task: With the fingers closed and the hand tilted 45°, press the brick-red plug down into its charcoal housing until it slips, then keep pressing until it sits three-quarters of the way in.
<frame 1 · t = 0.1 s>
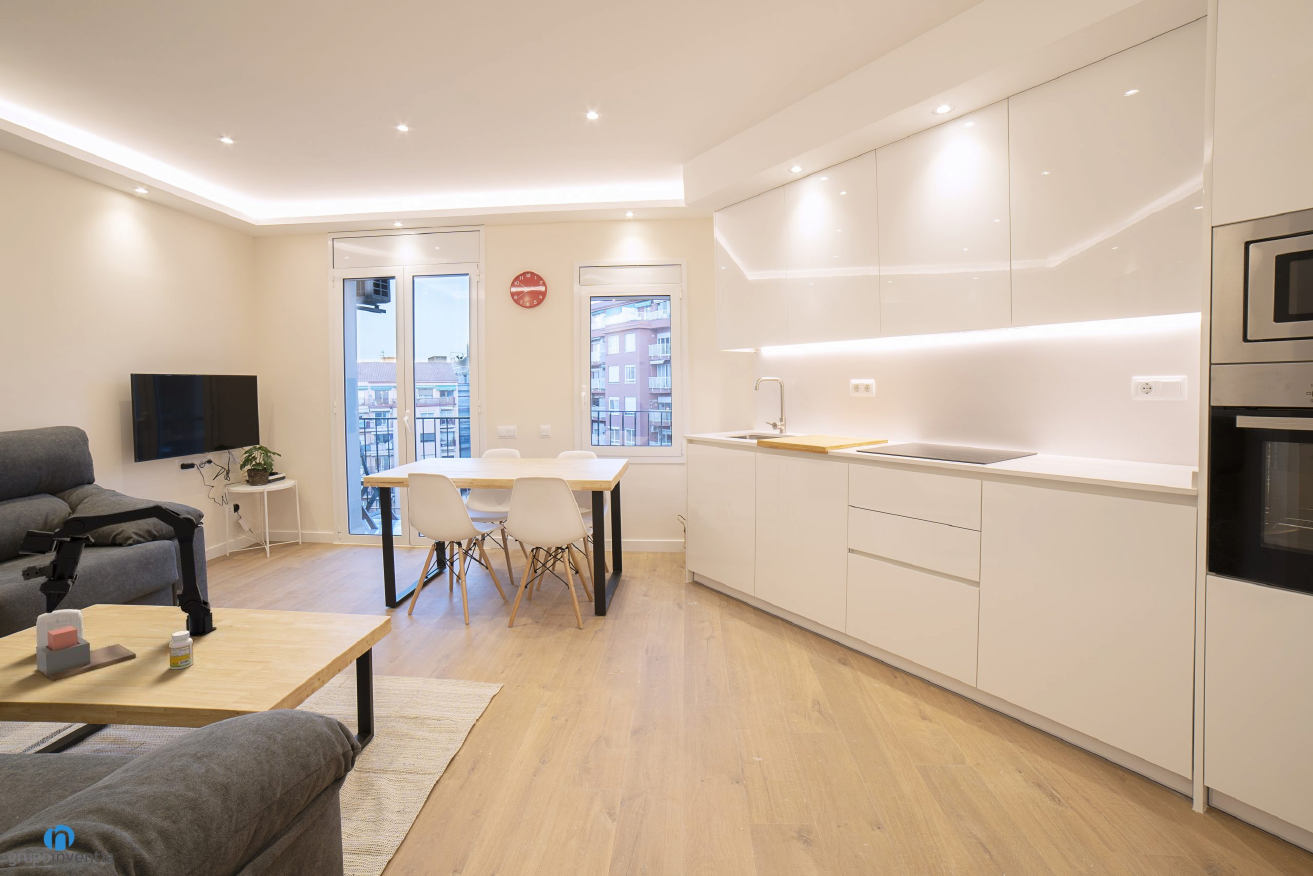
hand: (51, 608, 175), 15 cm above the table, tool pointing down, fingers open, 9 cm apart
photo printer: (60, 650, 183), on the table
plug: (62, 640, 168), point 9 cm above the table, slide at 0.0 cm
supplement bottle: (181, 666, 172), on the table
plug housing: (64, 669, 169), resting on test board
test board: (87, 663, 173), on the table
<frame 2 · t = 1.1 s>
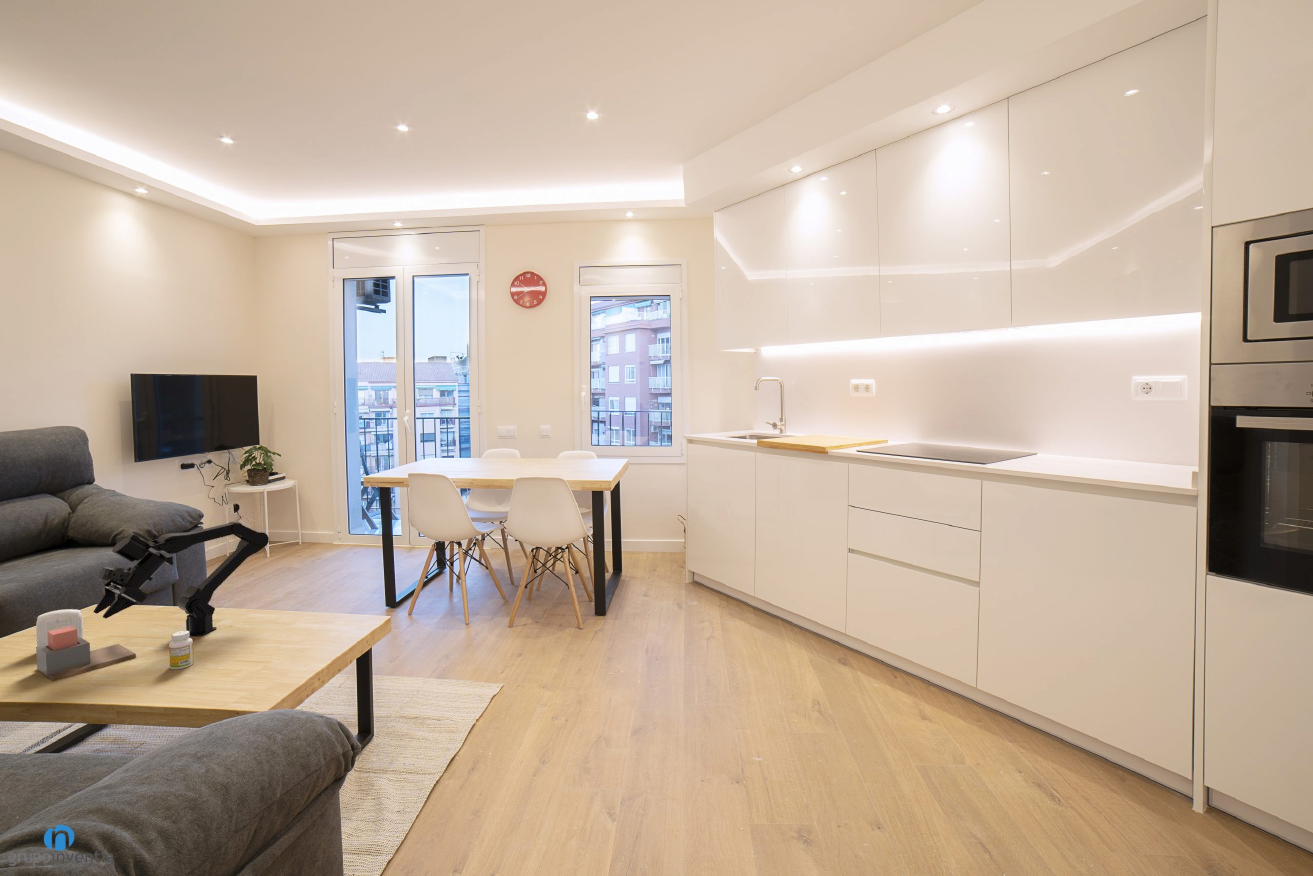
hand: (99, 615, 175), 13 cm above the table, tool tilted 45°, fingers open, 7 cm apart
nothing on the table moved.
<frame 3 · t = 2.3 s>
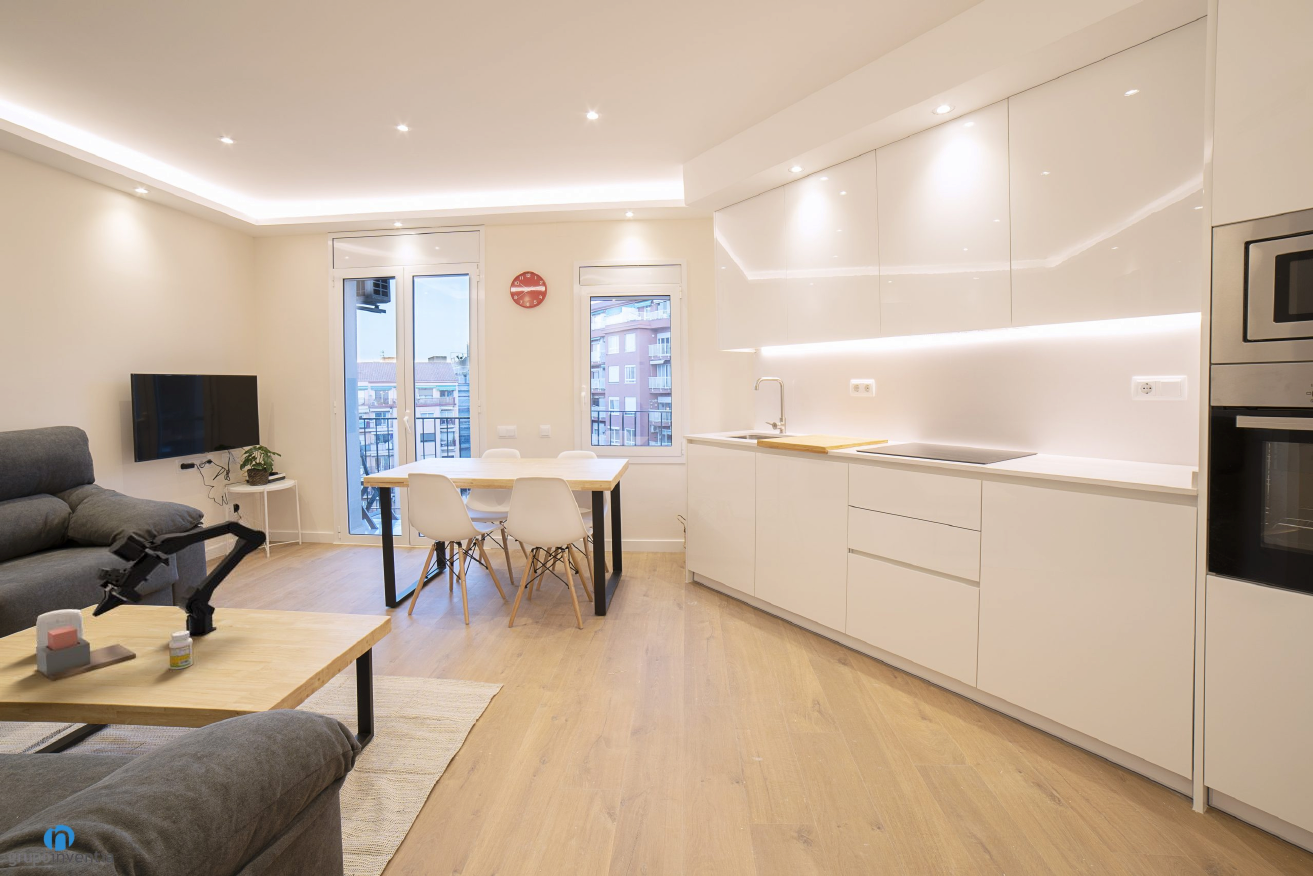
hand: (93, 616, 174), 14 cm above the table, tool tilted 45°, fingers closed
nothing on the table moved.
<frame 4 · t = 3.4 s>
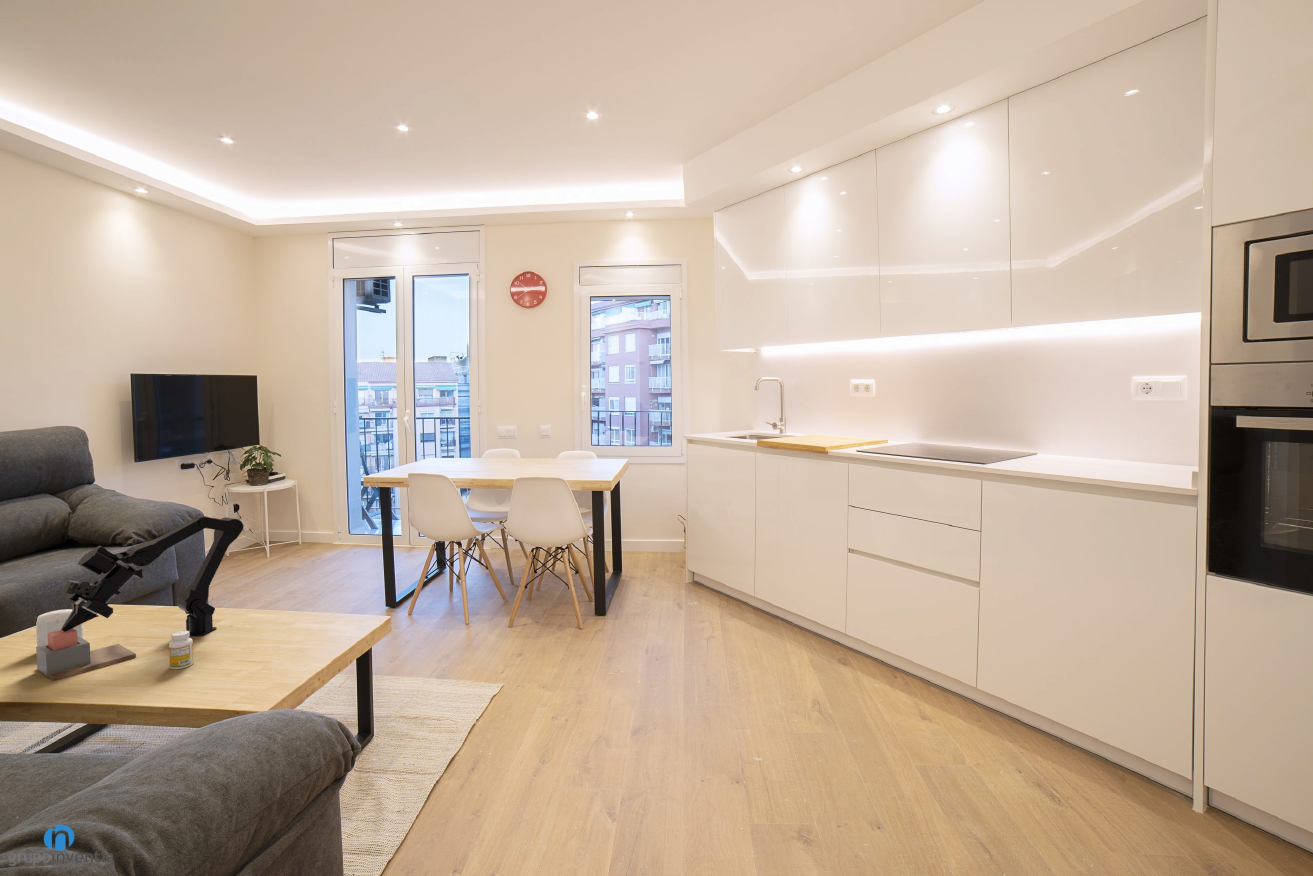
hand: (62, 630, 168), 11 cm above the table, tool tilted 45°, fingers closed, pressing on plug
plug: (62, 642, 168), point 8 cm above the table, slide at 0.5 cm, touching gripper
everything else where it was.
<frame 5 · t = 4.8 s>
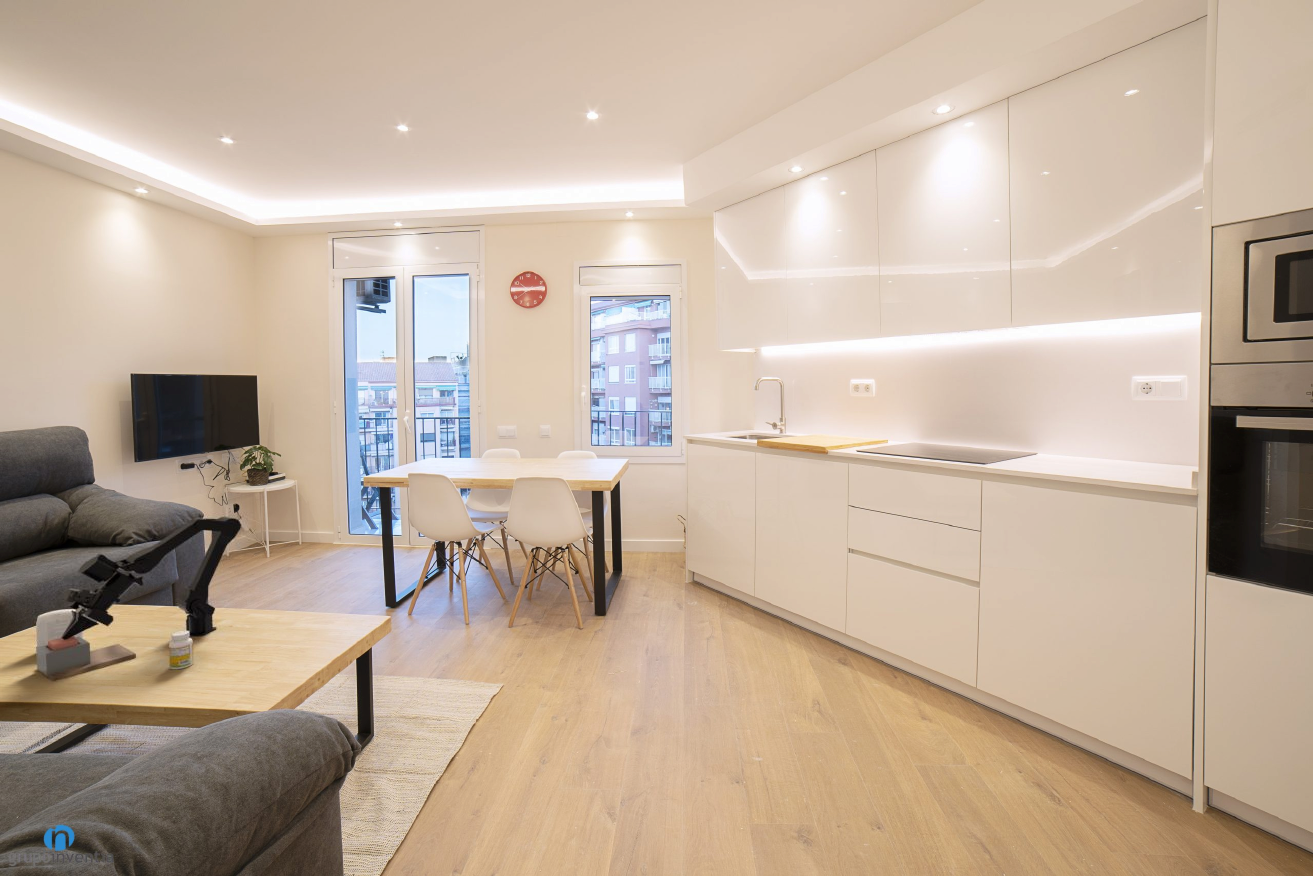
hand: (63, 638, 168), 9 cm above the table, tool tilted 45°, fingers closed, pressing on plug
plug: (63, 650, 169), point 6 cm above the table, slide at 2.8 cm, touching gripper
everything else where it was.
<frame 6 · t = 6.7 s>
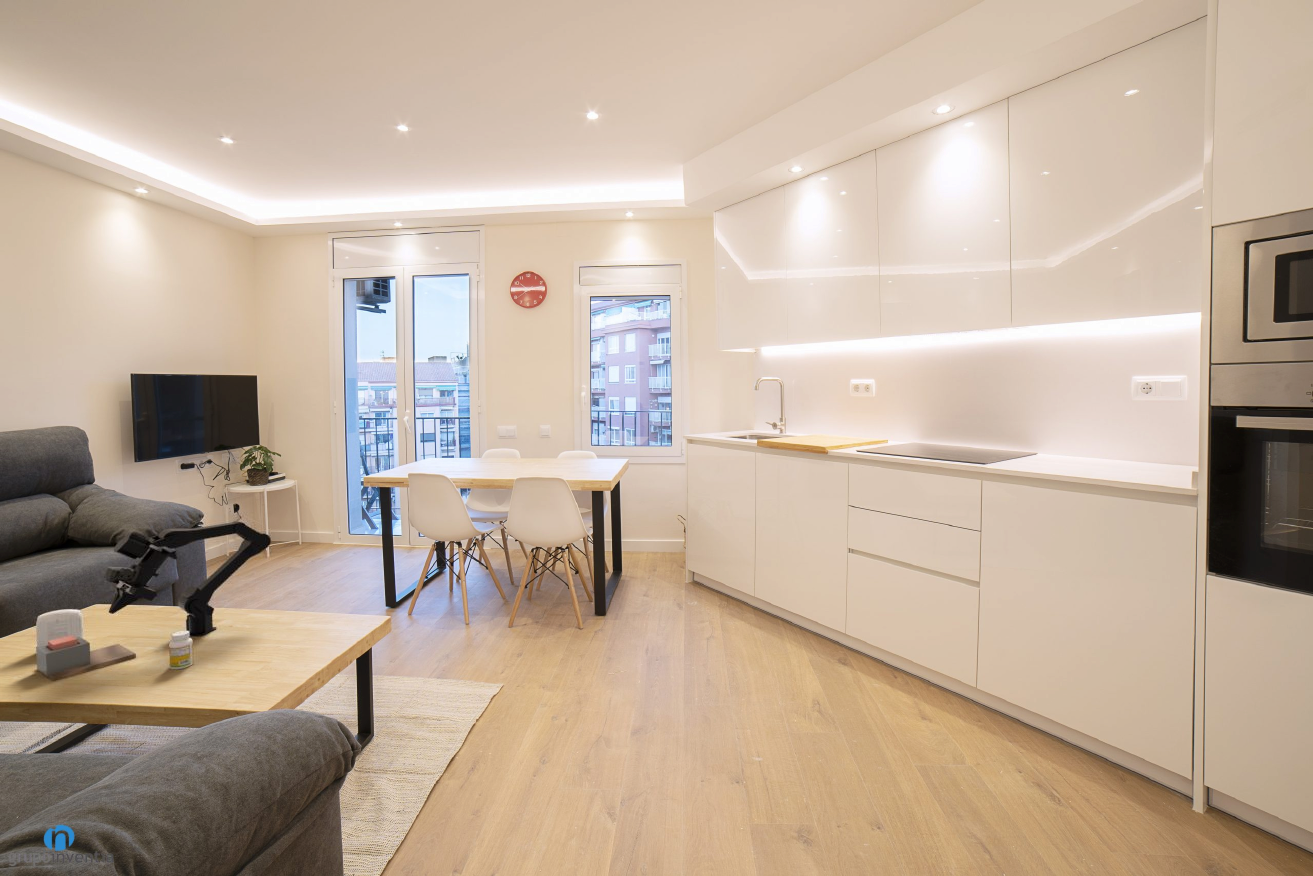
hand: (110, 613, 178), 13 cm above the table, tool tilted 35°, fingers closed
plug: (63, 650, 169), point 6 cm above the table, slide at 2.8 cm
everything else where it was.
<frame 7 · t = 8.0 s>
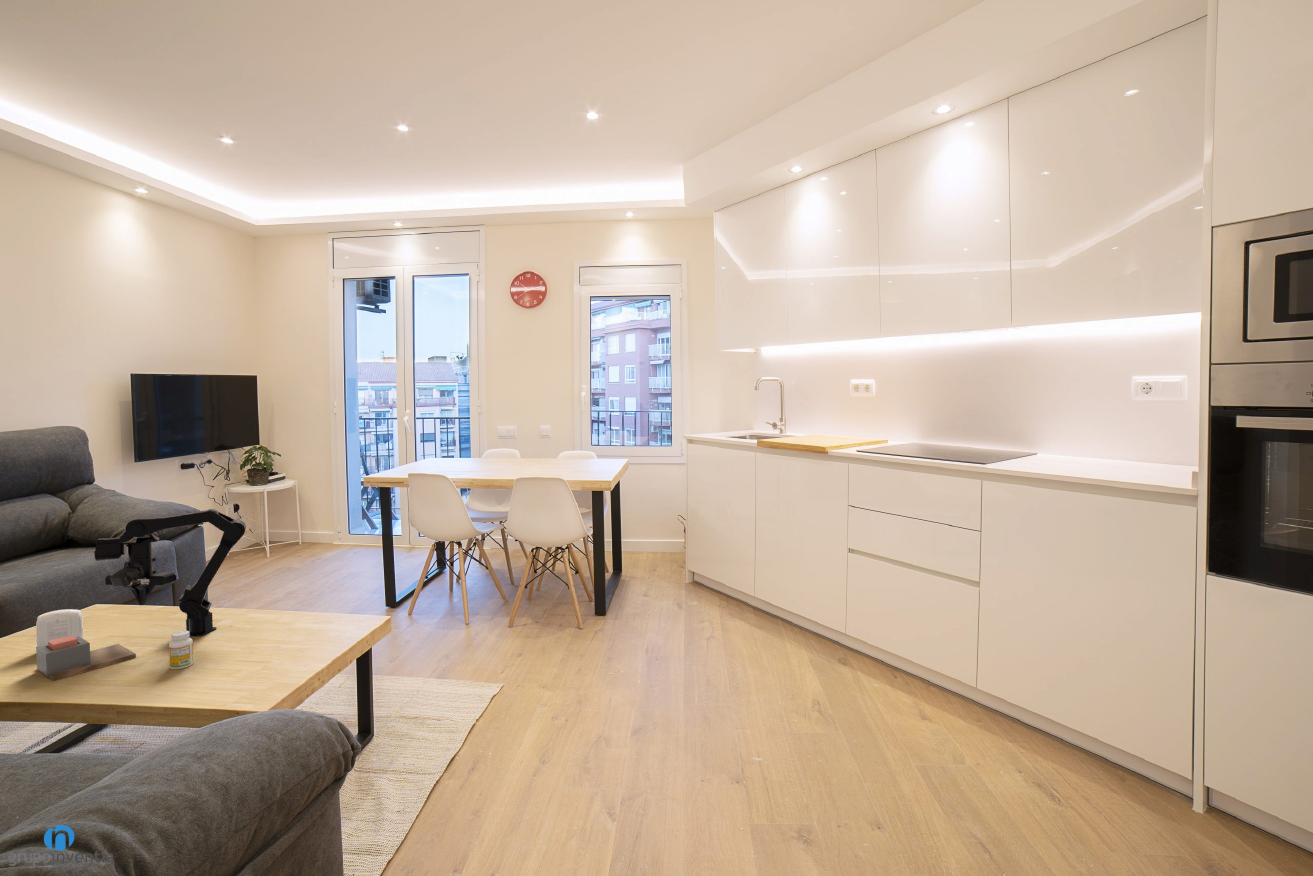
hand: (142, 604, 189), 12 cm above the table, tool pointing down, fingers closed
nothing on the table moved.
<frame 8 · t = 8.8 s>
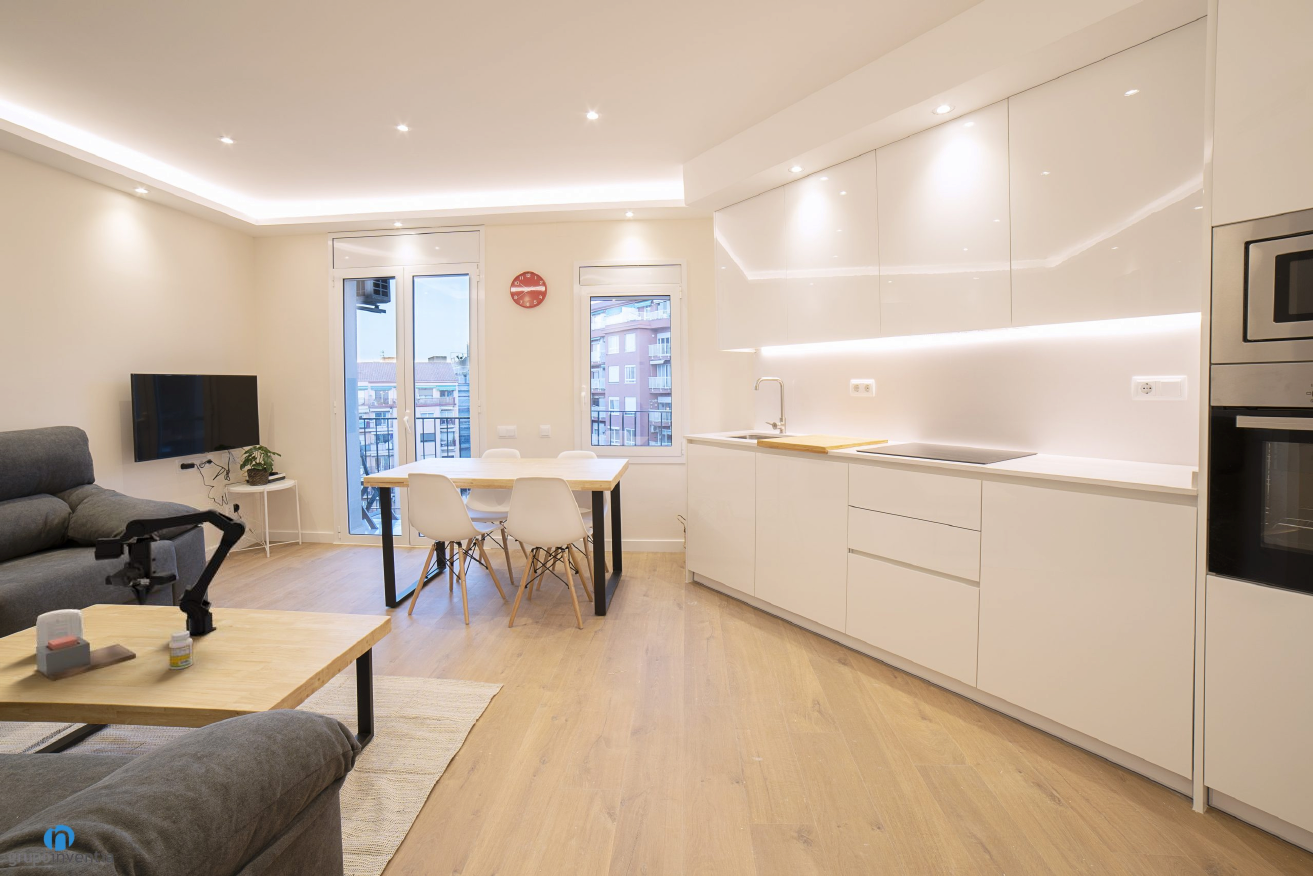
hand: (142, 604, 189), 12 cm above the table, tool pointing down, fingers closed
nothing on the table moved.
at the end: plug slide at 2.8 cm; photo printer moved 0.2 cm from its start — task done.
